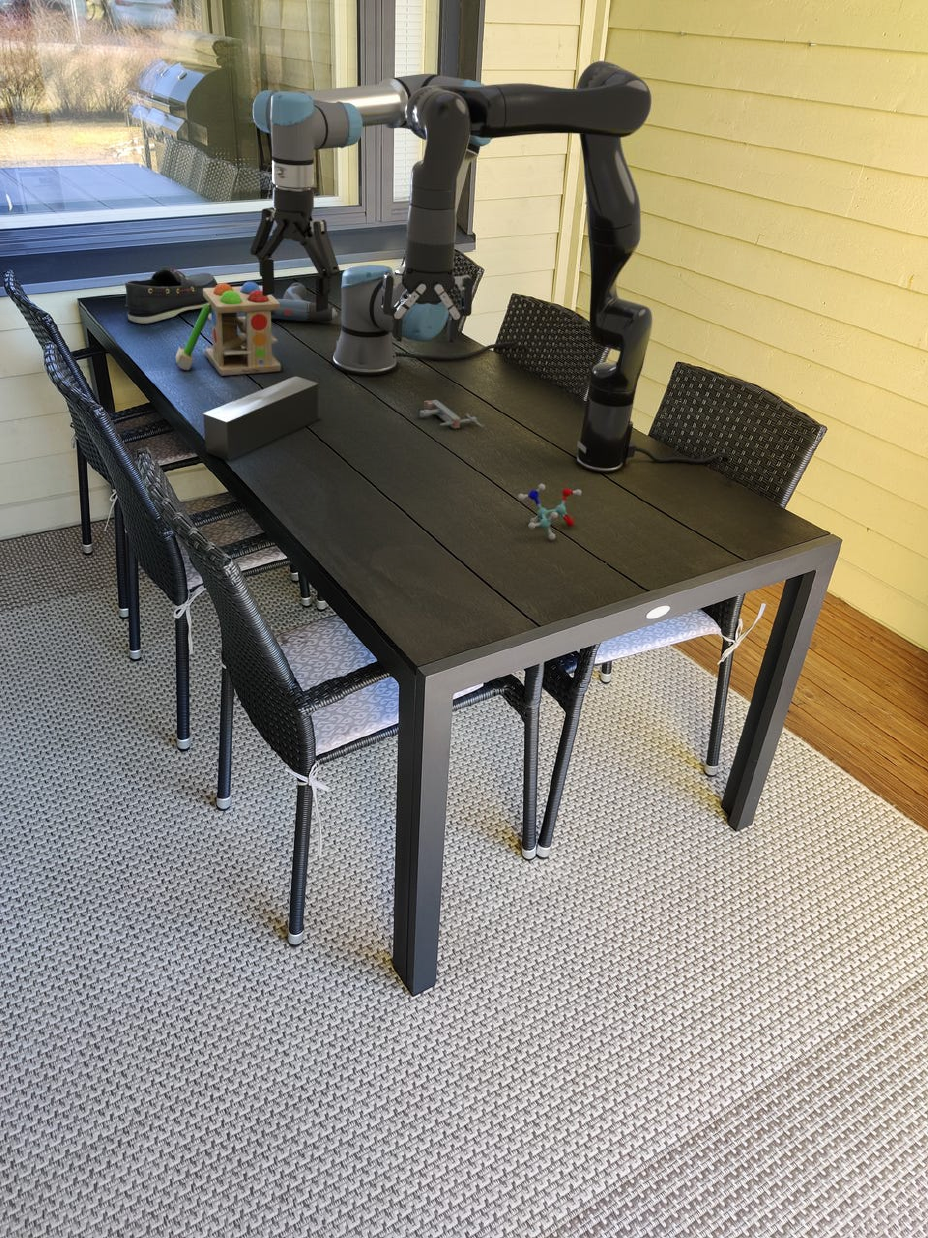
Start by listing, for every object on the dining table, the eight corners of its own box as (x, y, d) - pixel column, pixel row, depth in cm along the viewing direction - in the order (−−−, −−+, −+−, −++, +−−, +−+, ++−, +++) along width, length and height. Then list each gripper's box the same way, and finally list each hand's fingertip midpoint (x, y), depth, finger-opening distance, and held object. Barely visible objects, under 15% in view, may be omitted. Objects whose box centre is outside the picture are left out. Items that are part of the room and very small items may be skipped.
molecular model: (578, 533, 169) (560, 478, 167) (528, 548, 172) (510, 494, 171) (592, 523, 179) (575, 471, 178) (544, 538, 183) (527, 486, 182)
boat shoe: (237, 302, 271) (234, 263, 265) (145, 325, 247) (140, 283, 242) (203, 293, 276) (200, 255, 271) (110, 316, 253) (104, 274, 247)
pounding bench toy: (183, 379, 220) (176, 299, 210) (169, 357, 231) (162, 280, 221) (282, 371, 230) (280, 294, 220) (264, 350, 240) (262, 276, 230)
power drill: (344, 304, 276) (335, 327, 259) (277, 298, 275) (264, 321, 258) (344, 285, 273) (335, 306, 256) (277, 279, 272) (264, 300, 255)
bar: (296, 412, 211) (295, 375, 207) (318, 419, 209) (317, 383, 204) (205, 452, 191) (203, 413, 187) (228, 461, 189) (226, 422, 184)
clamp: (412, 401, 215) (452, 396, 220) (411, 411, 216) (451, 405, 221) (445, 428, 205) (486, 422, 209) (444, 438, 206) (485, 432, 210)
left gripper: (228, 176, 184) (234, 291, 196) (333, 201, 174) (333, 320, 186) (255, 172, 189) (259, 284, 201) (359, 196, 179) (357, 312, 191)
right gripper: (388, 240, 145) (384, 348, 154) (481, 243, 148) (472, 348, 157) (380, 228, 151) (377, 332, 160) (470, 231, 154) (462, 333, 163)
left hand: (294, 302), depth 193 cm, fingers open, 13 cm apart
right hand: (424, 340), depth 159 cm, fingers open, 8 cm apart
